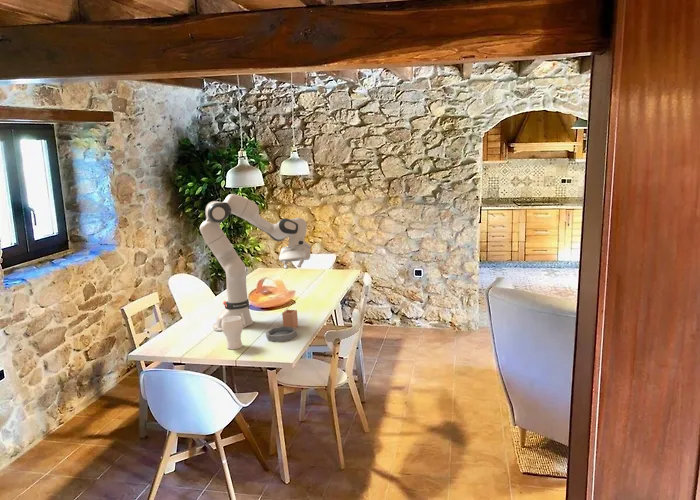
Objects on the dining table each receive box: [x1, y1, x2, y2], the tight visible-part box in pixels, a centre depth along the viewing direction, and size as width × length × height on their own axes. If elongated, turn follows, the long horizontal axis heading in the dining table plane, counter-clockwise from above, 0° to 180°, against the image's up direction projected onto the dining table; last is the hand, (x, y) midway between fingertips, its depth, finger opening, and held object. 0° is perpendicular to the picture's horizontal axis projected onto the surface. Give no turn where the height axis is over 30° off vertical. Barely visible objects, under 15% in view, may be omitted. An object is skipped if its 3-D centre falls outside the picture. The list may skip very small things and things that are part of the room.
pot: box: [281, 309, 299, 329], centre depth 318 cm, size 6×6×9 cm
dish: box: [265, 325, 298, 343], centre depth 304 cm, size 15×15×3 cm
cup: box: [221, 316, 244, 350], centre depth 293 cm, size 11×11×15 cm
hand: (292, 267), depth 326 cm, fingers open, 8 cm apart
